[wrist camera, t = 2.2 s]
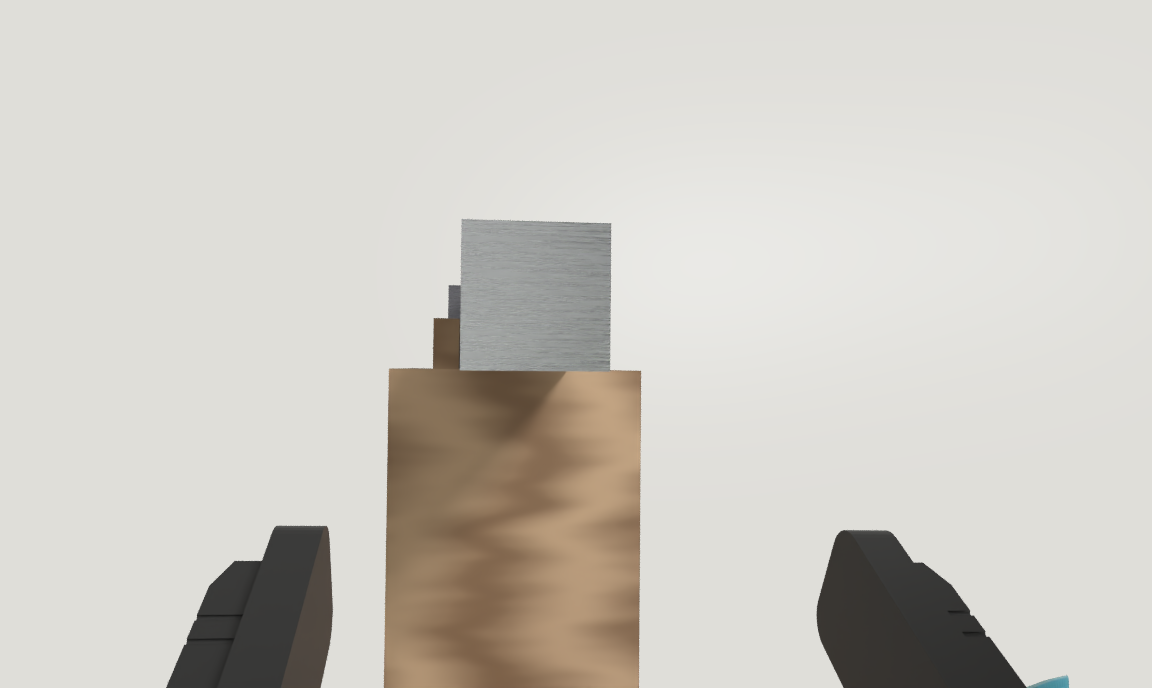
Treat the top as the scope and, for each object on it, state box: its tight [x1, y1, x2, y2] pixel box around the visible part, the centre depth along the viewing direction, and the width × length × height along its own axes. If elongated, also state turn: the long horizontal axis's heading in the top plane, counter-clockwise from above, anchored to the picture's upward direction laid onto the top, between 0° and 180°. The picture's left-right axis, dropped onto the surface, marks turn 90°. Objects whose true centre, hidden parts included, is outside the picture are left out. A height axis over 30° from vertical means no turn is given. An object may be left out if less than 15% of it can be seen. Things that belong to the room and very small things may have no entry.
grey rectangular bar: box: [448, 219, 611, 372], centre depth 33 cm, size 22×6×4 cm, turn 7°
